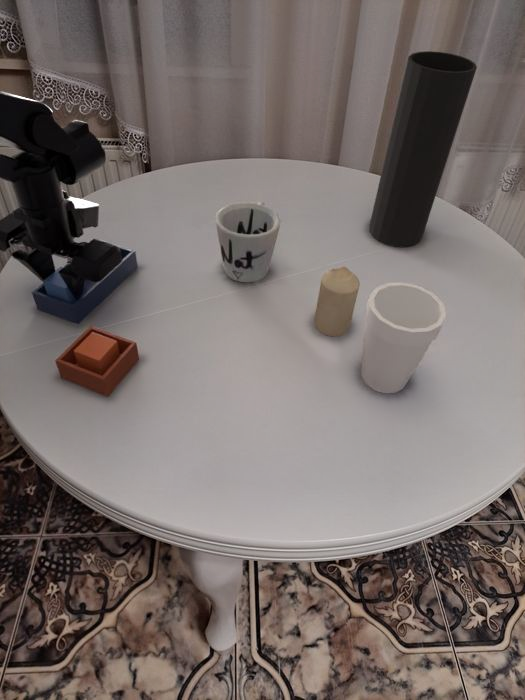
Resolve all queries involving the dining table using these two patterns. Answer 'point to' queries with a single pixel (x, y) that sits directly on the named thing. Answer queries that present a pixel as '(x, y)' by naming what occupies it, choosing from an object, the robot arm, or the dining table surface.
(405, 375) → the foam cup
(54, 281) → the slate block
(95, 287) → the slate bin
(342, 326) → the candle
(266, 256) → the mug
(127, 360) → the terracotta bin
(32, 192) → the robot arm
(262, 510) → the dining table surface
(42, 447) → the dining table surface
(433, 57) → the vase
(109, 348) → the terracotta block
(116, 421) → the dining table surface
